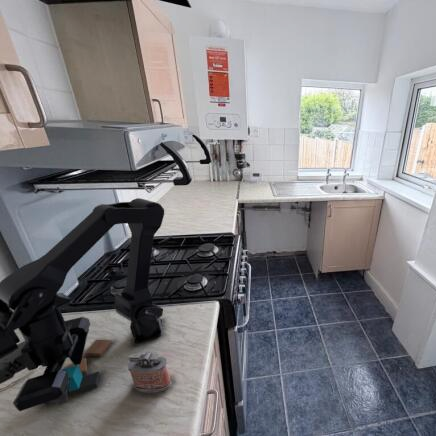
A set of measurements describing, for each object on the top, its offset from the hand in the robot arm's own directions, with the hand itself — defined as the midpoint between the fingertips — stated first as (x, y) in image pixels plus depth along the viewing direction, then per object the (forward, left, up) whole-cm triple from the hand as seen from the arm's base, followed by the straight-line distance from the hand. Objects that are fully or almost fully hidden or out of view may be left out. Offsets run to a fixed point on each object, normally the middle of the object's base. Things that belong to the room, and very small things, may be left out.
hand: (71, 382), depth 52 cm
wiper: (0, 0, -2) cm, 2 cm away
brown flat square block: (-2, -10, -2) cm, 10 cm away
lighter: (-16, +6, -3) cm, 17 cm away
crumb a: (+1, -5, -2) cm, 5 cm away
